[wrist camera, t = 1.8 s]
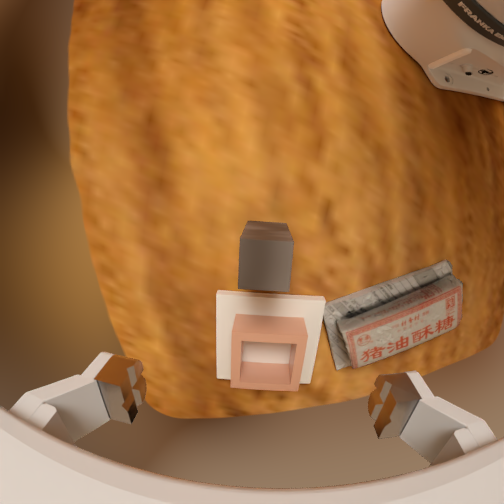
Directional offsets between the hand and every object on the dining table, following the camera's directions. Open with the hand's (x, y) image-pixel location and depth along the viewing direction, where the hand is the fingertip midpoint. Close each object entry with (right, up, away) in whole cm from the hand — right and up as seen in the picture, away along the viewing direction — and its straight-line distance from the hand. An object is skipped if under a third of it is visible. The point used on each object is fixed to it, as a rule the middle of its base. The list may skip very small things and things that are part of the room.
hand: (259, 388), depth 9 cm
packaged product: (+18, -3, +24) cm, 30 cm away
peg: (+1, +6, +22) cm, 23 cm away
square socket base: (+2, -6, +25) cm, 26 cm away
